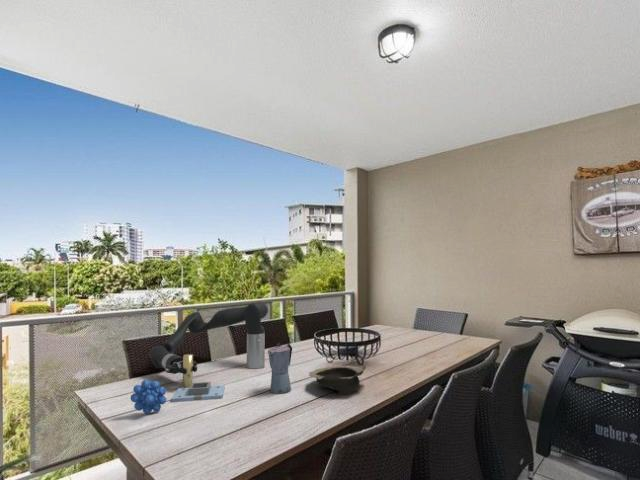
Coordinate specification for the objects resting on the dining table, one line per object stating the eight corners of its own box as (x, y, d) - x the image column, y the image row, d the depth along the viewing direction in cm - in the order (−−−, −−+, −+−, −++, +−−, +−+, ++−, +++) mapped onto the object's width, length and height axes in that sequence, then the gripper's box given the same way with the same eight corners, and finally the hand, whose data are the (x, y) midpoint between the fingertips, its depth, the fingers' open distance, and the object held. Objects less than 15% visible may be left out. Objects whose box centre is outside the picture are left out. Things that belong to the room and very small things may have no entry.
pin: (192, 386, 153) (193, 353, 155) (191, 389, 150) (192, 356, 151) (183, 387, 153) (184, 354, 154) (181, 390, 149) (182, 356, 150)
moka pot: (260, 393, 144) (260, 344, 146) (281, 382, 158) (281, 337, 160) (279, 397, 140) (280, 346, 141) (299, 386, 154) (299, 339, 155)
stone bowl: (365, 399, 137) (362, 375, 138) (303, 400, 142) (301, 376, 143) (369, 379, 161) (367, 358, 162) (316, 380, 166) (314, 360, 167)
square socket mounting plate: (224, 388, 151) (224, 379, 152) (222, 398, 140) (222, 388, 140) (178, 391, 148) (178, 382, 148) (171, 401, 136) (172, 392, 136)
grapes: (130, 422, 118) (131, 385, 119) (129, 414, 124) (130, 380, 125) (167, 414, 124) (168, 380, 125) (165, 408, 130) (166, 374, 131)
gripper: (188, 368, 166) (206, 375, 155) (157, 374, 156) (174, 383, 144) (188, 352, 167) (206, 358, 155) (157, 357, 157) (174, 364, 145)
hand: (190, 370), depth 150 cm, fingers closed on pin, 4 cm apart
